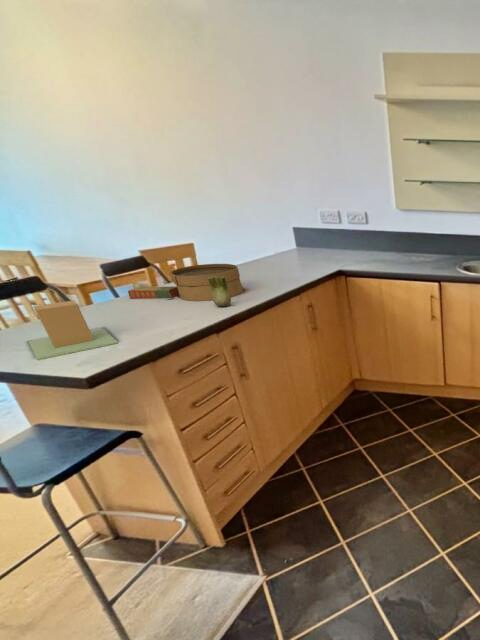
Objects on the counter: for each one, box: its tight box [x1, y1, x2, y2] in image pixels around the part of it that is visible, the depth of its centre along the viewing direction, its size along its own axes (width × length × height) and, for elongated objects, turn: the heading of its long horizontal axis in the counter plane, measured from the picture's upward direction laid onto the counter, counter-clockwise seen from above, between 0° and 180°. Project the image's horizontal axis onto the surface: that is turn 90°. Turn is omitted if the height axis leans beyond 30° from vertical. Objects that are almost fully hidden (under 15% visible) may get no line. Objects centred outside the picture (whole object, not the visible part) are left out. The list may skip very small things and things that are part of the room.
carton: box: [127, 286, 180, 301], centre depth 180 cm, size 8×16×4 cm, turn 98°
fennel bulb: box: [208, 277, 232, 307], centre depth 169 cm, size 6×5×12 cm
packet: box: [32, 299, 94, 348], centre depth 129 cm, size 6×9×12 cm, turn 141°
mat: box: [28, 328, 119, 361], centre depth 132 cm, size 20×18×1 cm
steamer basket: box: [170, 263, 244, 302], centre depth 186 cm, size 25×25×11 cm
